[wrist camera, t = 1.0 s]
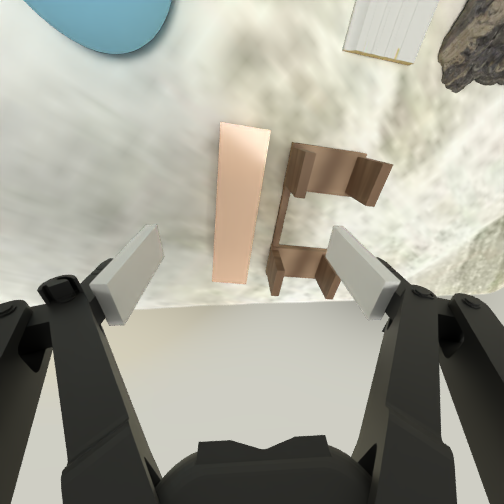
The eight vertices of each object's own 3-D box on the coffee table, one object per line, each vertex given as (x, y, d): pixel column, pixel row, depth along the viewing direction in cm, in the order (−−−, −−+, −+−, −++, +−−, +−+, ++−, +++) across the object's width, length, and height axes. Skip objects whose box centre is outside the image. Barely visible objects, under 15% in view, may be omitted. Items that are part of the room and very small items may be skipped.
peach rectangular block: (217, 253, 37) (212, 281, 30) (225, 123, 27) (220, 121, 20) (244, 255, 38) (245, 284, 31) (262, 129, 27) (270, 130, 21)
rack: (265, 271, 39) (270, 297, 33) (292, 142, 28) (307, 146, 22) (317, 275, 41) (331, 301, 35) (362, 152, 29) (395, 159, 23)
